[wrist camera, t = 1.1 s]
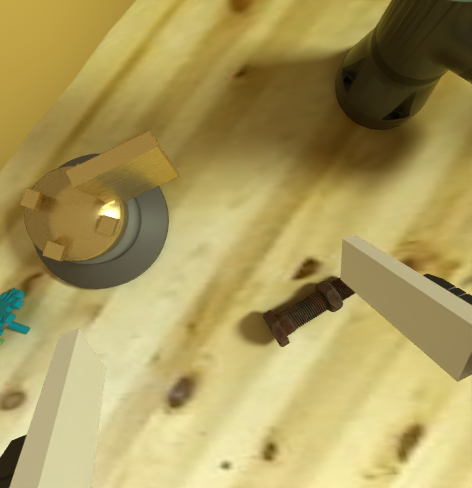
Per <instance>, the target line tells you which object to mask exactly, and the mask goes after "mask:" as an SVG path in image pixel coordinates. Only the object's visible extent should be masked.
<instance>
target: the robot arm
mask: <svg viewBox="0 0 472 488" xmlns="http://www.w3.org/2000/svg"><path fill="white" fill-rule="evenodd" d="M448 70H450V71H452V72H454V73H455V74H457V75H459V76H460V77H462V78H464V79H465V80H467V81H468V82H470V83H471V84H472V0H392V1H391V2H390V4H389V6H388V7H387V9H386V11H385V12H384V14H383V15H382V17H381V19H380V21H379V22H378V24H377V26H376V27H375V28H374V29H373V30H372V31H371V32H369V33H368V34H367V35H366V36H365V37H364V38H363V39H361V40H360V41H359V42H358V43H357V44H356V45H355V46H354V47H353V48H352V49H351V50H350V51H349V52H348V54H347V55H346V57H345V59H344V60H343V62H342V64H341V66H340V68H339V70H338V73H337V77H336V94H337V98H338V101H339V103H340V105H341V107H342V109H343V110H344V111H345V113H346V114H347V115H348V116H349V117H350V118H351V119H353V120H354V121H355V122H357V123H359V124H361V125H363V126H365V127H369V128H373V129H389V128H393V127H396V126H399V125H401V124H403V123H405V122H406V121H407V120H409V119H410V118H411V117H412V116H414V115H415V114H416V113H417V112H418V111H419V110H420V109H421V108H422V107H423V106H424V105H425V103H426V102H427V100H428V98H429V97H430V95H431V93H432V92H433V90H434V88H435V86H436V85H437V83H438V81H439V80H440V78H441V76H442V75H444V74H445V73H446V72H447V71H448ZM340 279H341V280H342V281H343V282H344V283H345V284H346V285H347V286H349V287H350V288H351V289H352V290H353V291H354V292H355V293H357V294H358V295H359V296H360V297H361V298H362V299H363V300H365V301H366V302H367V303H368V304H369V305H370V306H371V307H373V308H374V309H375V310H376V311H377V312H378V313H379V314H381V315H382V316H383V317H384V318H385V319H386V320H387V321H389V322H390V323H391V324H392V325H393V326H394V327H395V328H397V329H398V330H399V331H400V332H401V333H402V334H403V335H405V336H406V337H407V338H408V339H409V340H410V341H411V342H413V343H414V344H415V345H416V346H417V347H418V348H419V349H421V350H422V351H423V352H424V353H425V354H426V355H427V356H429V357H430V358H431V359H432V360H433V361H434V362H435V363H437V364H438V365H439V366H440V367H441V368H442V369H443V370H445V371H446V372H447V373H448V374H449V375H450V376H452V377H453V378H454V379H455V380H456V381H457V382H458V381H460V380H462V379H464V378H466V377H468V376H470V375H472V296H471V295H470V294H466V292H464V291H463V290H461V289H459V288H456V287H455V286H454V285H452V284H451V283H449V282H447V281H445V280H444V279H442V278H439V277H436V276H433V275H430V274H425V275H421V274H419V273H418V272H416V271H414V270H413V269H411V268H410V267H408V266H406V265H405V264H403V263H401V262H400V261H398V260H396V259H395V258H393V257H391V256H390V255H388V254H386V253H385V252H383V251H382V250H380V249H378V248H377V247H375V246H373V245H372V244H370V243H368V242H367V241H365V240H363V239H362V238H360V237H359V236H357V235H352V236H349V237H346V238H343V241H342V259H341V277H340ZM105 371H106V367H105V365H104V364H103V362H102V361H101V359H100V358H99V357H98V355H97V354H96V352H95V351H94V349H93V348H92V347H91V345H90V344H89V342H88V341H87V339H86V338H85V336H84V335H83V334H82V332H81V331H80V329H77V330H74V331H71V332H68V333H65V334H62V335H60V337H59V340H58V343H57V346H56V349H55V352H54V355H53V358H52V361H51V364H50V367H49V370H48V373H47V376H46V379H45V382H44V385H43V388H42V391H41V394H40V397H39V400H38V403H37V406H36V409H35V412H34V415H33V418H32V421H31V424H30V427H29V430H28V433H27V435H24V436H22V437H19V438H17V439H14V440H12V441H11V442H10V444H9V445H8V447H7V448H6V450H5V451H4V453H3V454H2V456H1V457H0V488H92V481H93V472H94V464H95V456H96V447H97V439H98V430H99V422H100V413H101V405H102V396H103V388H104V380H105Z"/></svg>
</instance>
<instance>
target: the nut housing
mask: <svg viewBox="0 0 472 488" xmlns="http://www.w3.org/2000/svg"><path fill="white" fill-rule="evenodd" d="M98 155H100V154H91V155H86V156H82V157H79V158H76V159H73V160H71V161H69V162H67V163H65V164H64V165H62V166H61V167H59V168H62V167H67V166H76V165H77V164H82V163H84V162H86V161H88V160H90V159H92V158H94V157H96V156H98ZM127 205H128V211H129V220H128V226H127V229H126V232H125V234H124V236H123V238H122V240H121V241H120V242H119V244H118V245H117V246H116V247H115V248H114V249H113V250H112V251H110V252H109V253H107V254H106V255H104V256H102V257H99V258H97V259H93V260H83V261H67V260H64V261H58V260H55V259H52V258H49V257H46V256H43V251H41V250H40V249H39V248H38V247H37V246H36V245H35V244H34V246H35V248H36V250H37V253H38V255H39V256H40V258H41V260H42V261H43V262H44V264H45V265H46V266H47V267H48V269H50V270H51V271H52V272H53V273H54V274H55V275H56V276H58V277H59V278H61V279H62V280H64V281H66V282H68V283H70V284H73V285H76V286H79V287H84V288H92V289H100V288H109V287H114V286H118V285H121V284H124V283H127V282H129V281H131V280H133V279H135V278H137V277H138V276H140V275H141V274H142V273H144V272H145V271H146V270H147V269H148V268H149V267H150V266H151V265H152V264H153V263H154V261H155V260H156V259H157V257H158V256H159V254H160V252H161V250H162V248H163V246H164V243H165V240H166V237H167V232H168V224H169V218H168V209H167V204H166V201H165V198H164V195H163V193H162V191H161V189H160V188H159V186H157V187H155V188H153V189H151V190H149V191H147V192H145V193H143V194H141V195H139V196H137V197H135V198H133V199H130V200H128V201H127Z"/></svg>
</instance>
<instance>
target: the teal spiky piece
mask: <svg viewBox="0 0 472 488" xmlns="http://www.w3.org/2000/svg"><path fill="white" fill-rule="evenodd" d="M24 294H25V292H24V291H21V290H17V289H15V288H13V289H12V290H11V291H10V293H8V292H5V293H3V294H2V295H1V297H0V336H1V335H2V334H3V329H4V328H6V327H8V328H10V329H13V330H16V331H19V332H21V333H24V334H26V333H27V332H28V331H29V329H30V328H29V327H26V326H23V325H21V324H18V323H16V322H13V320H14V319H15V317H16V315H14V314H11V312H12V310H13V309H14V308H16V309H19V308H20V307H21V306H22V304H23V302H24V301H22V300H20V299H22V298H23V297H24ZM3 341H4V340H2V339H0V345H1V344H2V343H3Z"/></svg>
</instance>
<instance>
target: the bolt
mask: <svg viewBox="0 0 472 488" xmlns="http://www.w3.org/2000/svg"><path fill="white" fill-rule="evenodd" d="M353 294H355V292H354V291H353V290H352V289H351V288H350V287H349V286H347V285H346V284H345V283H344V282H343V281H342V280H341V279H340V278H339V279H337V280H336V281H334V282H332V283H328V282H325V281H323V282H321V283H319V284H318V285H317V286H316V293H314V294H312V295H311V296H309V297H307V298H305V299H304V300H302V302H301V301H300V303H298V304H296V305H294V306H293V307H291V308H289V309H287V310H285V311H283V312H281V313H279V314H278V315H276V316H274V314H273V313H272V311H271V310H269V311H268V312H266V313H264V316H263V318H264V319H265V321H266V323H267V324H268V326H269V328H270V330H271V331H272V333H273V335H274V336H275V338H276V340H277V342H278V343H279V345H280V346H281V347H284V346H285V345H287V344H289V343H290V342H289V339H288V337H287V336H288V335H289V334H291V333H292V332H294V331H295V330H296V329H297V328H298V326H299V327H300V325H301V326H302V324H303V325H304V323H305V324H306V322H307V323H308V321H310V320H312V319H313V318H315V317H317V316H319V315H320V314H321V313H322V312H324V311H326V310H329V311H331V312H336V311H337V310H339V309H340V308H341V307H342V306H343V300H344V299H346V298H348V297H350V296H352V295H353Z"/></svg>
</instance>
